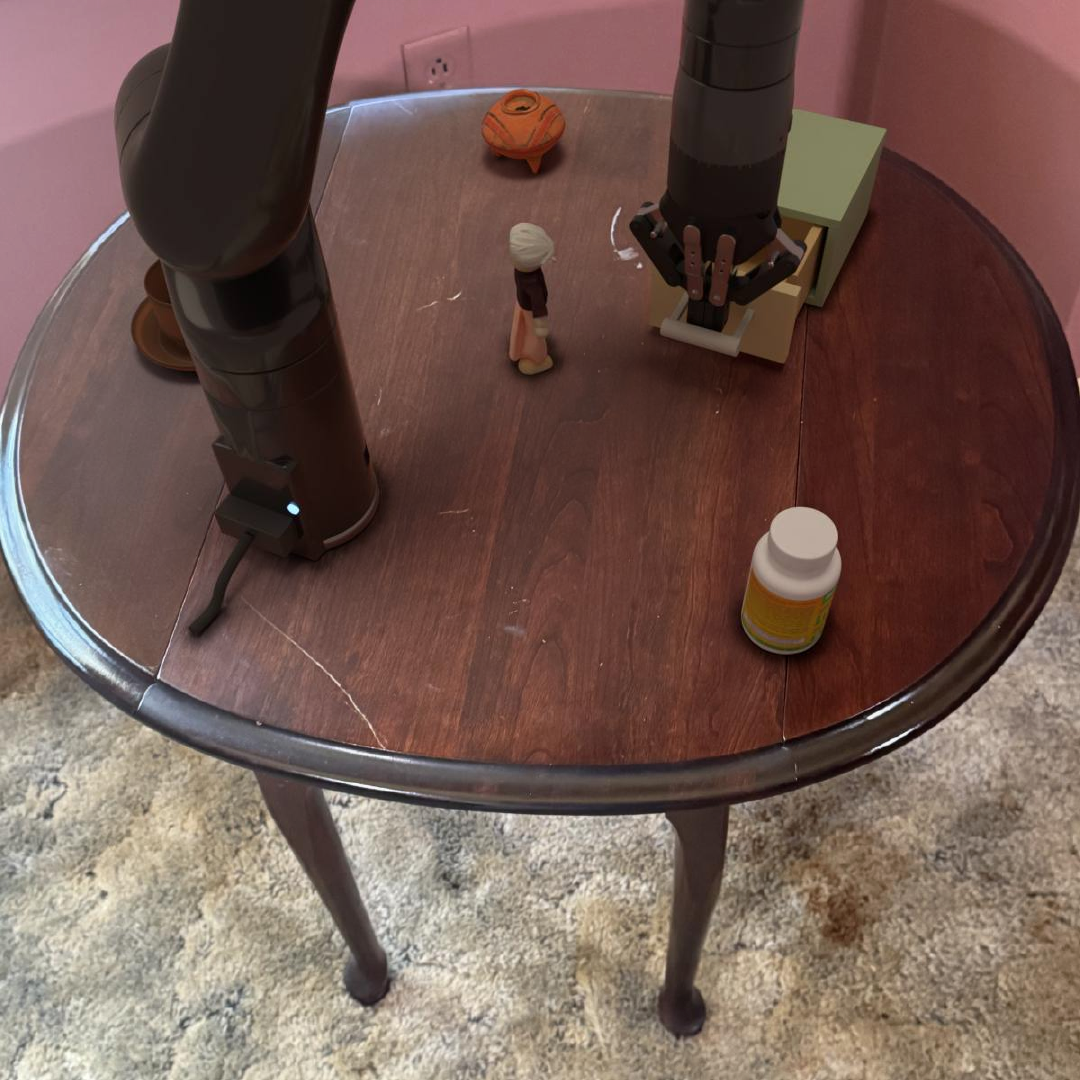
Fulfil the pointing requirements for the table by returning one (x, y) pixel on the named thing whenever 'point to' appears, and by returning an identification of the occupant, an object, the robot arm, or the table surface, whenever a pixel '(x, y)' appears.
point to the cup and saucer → (159, 325)
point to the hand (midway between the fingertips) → (706, 331)
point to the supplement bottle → (792, 581)
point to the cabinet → (829, 184)
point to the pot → (523, 126)
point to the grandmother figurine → (530, 297)
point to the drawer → (760, 321)
